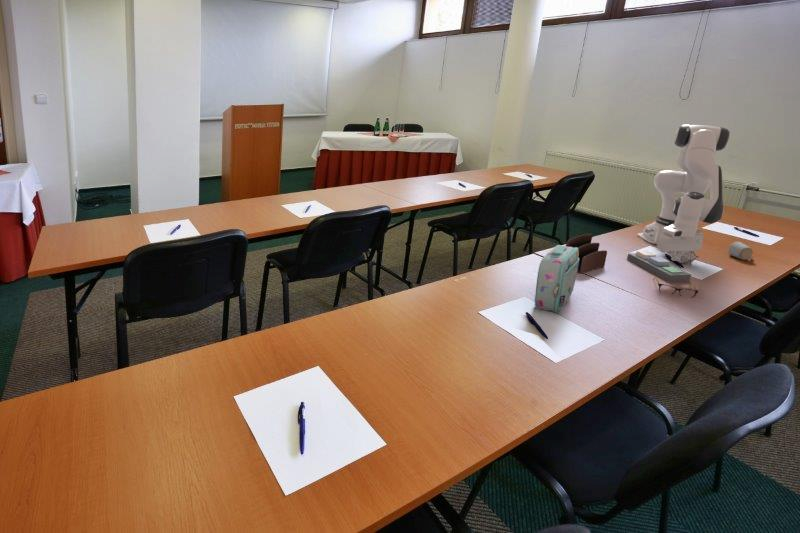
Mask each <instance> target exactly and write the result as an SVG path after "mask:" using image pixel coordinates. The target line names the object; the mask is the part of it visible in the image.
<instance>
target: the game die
mask: <svg viewBox="0 0 800 533" xmlns="http://www.w3.org/2000/svg"><path fill="white" fill-rule="evenodd" d="M697 258H699V256H697V255H696V253H695V251H685V252H684V254H683V255H682V256H681V257H680V260H679V262H680V263H681V264H680V265H682V264H688V265H690V266H691V265H693V264H692V263H694V261H695V260H696V259H697Z"/></svg>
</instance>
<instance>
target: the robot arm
mask: <svg viewBox="0 0 800 533" xmlns="http://www.w3.org/2000/svg"><path fill="white" fill-rule="evenodd" d="M730 138H731V137H730V130H729V129H728V128H725V127H722V126H721V127H719V126H713V125H706V124H705V125H702V124H691V125H690V124H689V123H688V124H687V123H686V124H682V125H680V126H679V127H678V128H677V130H676V131H675V133H674V135H673V141H674V142H673V143H674V145H675V146H676V147H680V151H679V153H678V155H677V160H676V165H677V166H678V168H680V170H682V171H679V170H671V169H670V170H660V171H658V172H657V174H655V176H654V179H653V185H654V188H655V189H656V190H657V191H658V192H659V193H660V195H661V199H662V206H661V210H660V215H656V216H655V219H656V220H655V221H654V222H651V223H650V224H647V225H645V227H644V228H643V230H642V232H638V233H637V234H636V235H637V236H638V237H640V238H641V239H643V240H645V241H646V242H648V243H649V244H654V245H656V249H657V250H658V251H659V252H661V253H670V254H671V258H670V260H672V261H674V262H675V261H676V262H677V261H679V262H680V257H681V256H682V255H683V254H684V252H685V251H694V252H698V251H700V250H701V249H702V245H703V240H704V232H703V231H702V230H700V229H698V227H699V222H703V223H705V224H711V225H712V224H715V223H717V222H718V221H721V219H722V218H723V214H724V211H725V210H724V201H723V172H722V167H721V166H720V165H718V163H717V161H716V159H715V158H716V152H717V151H718V152H719V151H722V150H724V149H725V148H726V146H727V145H728V144H729V142H730ZM707 191H710V192H709V197H710V198H707V199H706V196H705V194H706V192H707ZM677 194H683V196H680V197H677Z"/></svg>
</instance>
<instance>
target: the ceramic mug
mask: <svg viewBox="0 0 800 533" xmlns="http://www.w3.org/2000/svg"><path fill="white" fill-rule="evenodd" d="M727 250H728V254H729V255H730V256H733V257H735V258H737V259H739V260H742V261H745V260H746V261H747V260H748V259H749V260H752V259H753V258H754V256H753V252H754V251H753V249H752V247H750V246H749V245H746V244H744V242H740V241H735V242H732V243H731V244H730V245H729V247H728V249H727Z"/></svg>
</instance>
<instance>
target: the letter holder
mask: <svg viewBox="0 0 800 533" xmlns="http://www.w3.org/2000/svg"><path fill="white" fill-rule="evenodd" d="M592 240H593V234H592V233H585V234H580V235H577V236H574V237H571V238H569V239H567V241H566V242H565V246H567V247H573V248H575V247H577V248H578V251H579V256H578V258H579V265H578V270H577V274H578V273H579V274H578V275H581V273H582V274H584V273H588V272H591V271H594V270H597V269H600V268H604V267H605V265H606V261H607V255H608V251H607V250H604V249H603V250H599V249H600V242H592Z"/></svg>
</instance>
